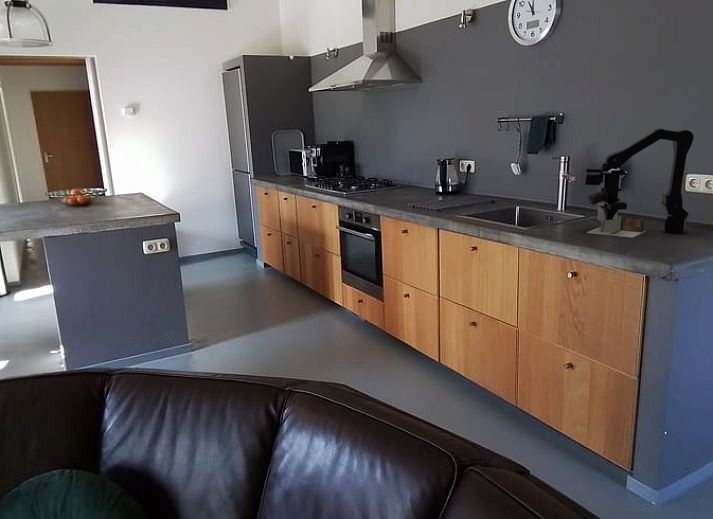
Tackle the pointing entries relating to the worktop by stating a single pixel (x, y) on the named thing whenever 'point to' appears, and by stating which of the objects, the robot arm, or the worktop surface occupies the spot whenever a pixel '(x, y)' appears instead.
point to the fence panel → (610, 224)
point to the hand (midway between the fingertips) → (608, 223)
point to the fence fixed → (632, 225)
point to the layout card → (616, 233)
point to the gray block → (601, 212)
